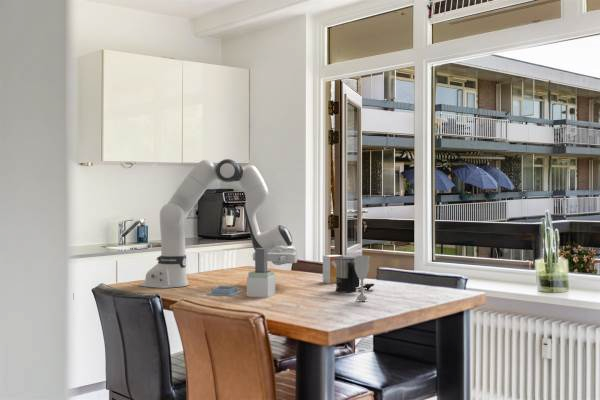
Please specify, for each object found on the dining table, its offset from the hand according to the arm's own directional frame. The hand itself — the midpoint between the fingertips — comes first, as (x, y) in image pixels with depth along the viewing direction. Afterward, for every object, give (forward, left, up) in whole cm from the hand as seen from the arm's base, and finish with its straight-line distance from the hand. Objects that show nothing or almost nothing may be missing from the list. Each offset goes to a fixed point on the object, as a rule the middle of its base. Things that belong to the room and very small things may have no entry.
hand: (269, 258), depth 279 cm
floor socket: (-17, -11, -14) cm, 25 cm away
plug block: (0, -11, -6) cm, 13 cm away
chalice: (+44, -13, -15) cm, 48 cm away
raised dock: (0, -11, -14) cm, 18 cm away
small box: (+21, +33, -15) cm, 42 cm away
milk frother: (+36, +11, -15) cm, 41 cm away
